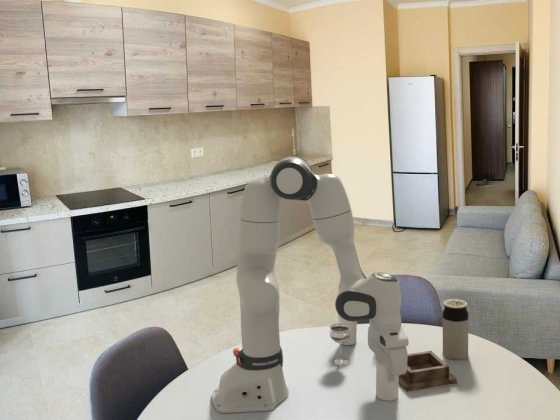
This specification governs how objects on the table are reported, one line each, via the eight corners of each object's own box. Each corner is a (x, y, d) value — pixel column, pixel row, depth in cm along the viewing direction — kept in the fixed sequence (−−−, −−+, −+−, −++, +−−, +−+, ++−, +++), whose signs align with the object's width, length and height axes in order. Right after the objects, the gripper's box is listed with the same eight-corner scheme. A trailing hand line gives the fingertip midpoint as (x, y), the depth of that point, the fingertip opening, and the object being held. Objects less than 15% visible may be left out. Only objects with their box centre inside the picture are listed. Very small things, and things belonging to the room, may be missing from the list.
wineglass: (355, 363, 175) (354, 328, 173) (337, 368, 173) (335, 333, 171) (345, 355, 181) (344, 321, 179) (327, 359, 179) (325, 325, 177)
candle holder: (406, 391, 156) (406, 375, 155) (387, 370, 170) (387, 355, 169) (457, 383, 159) (457, 367, 158) (434, 362, 173) (434, 348, 172)
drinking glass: (357, 347, 187) (356, 306, 184) (338, 346, 188) (336, 306, 186) (358, 339, 193) (357, 299, 191) (340, 338, 195) (338, 299, 192)
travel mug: (470, 360, 173) (470, 307, 170) (444, 360, 174) (444, 307, 171) (465, 349, 180) (466, 298, 177) (441, 349, 182) (441, 298, 179)
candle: (399, 390, 157) (399, 342, 154) (397, 401, 151) (398, 352, 148) (377, 387, 159) (377, 340, 156) (374, 399, 153) (375, 350, 150)
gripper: (361, 317, 161) (363, 361, 163) (389, 345, 141) (390, 394, 144) (381, 315, 162) (382, 358, 165) (411, 342, 142) (412, 390, 145)
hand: (386, 375), depth 154 cm, fingers closed on candle, 5 cm apart
